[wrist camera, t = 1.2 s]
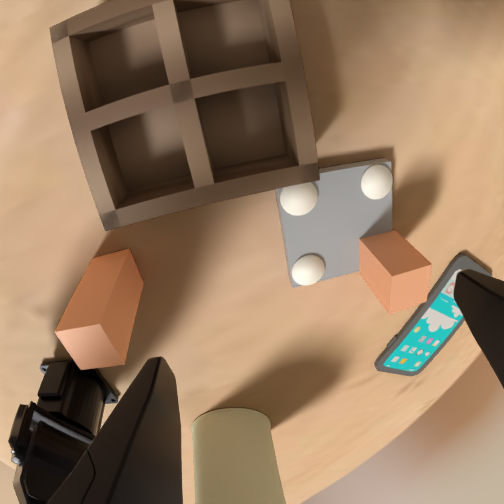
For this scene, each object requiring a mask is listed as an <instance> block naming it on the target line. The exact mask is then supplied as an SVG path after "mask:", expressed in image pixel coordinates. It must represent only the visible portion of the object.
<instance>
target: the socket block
mask: <svg viewBox="0 0 504 504" xmlns="http://www.w3.org/2000/svg"><path fill="white" fill-rule="evenodd" d="M50 35H51V41H52V46H53V52H54V57H55V63H56V68H57V72H58V77H59V82H60V86H61V91H62V95H63V99H64V103H65V107H66V111H67V115H68V119H69V123H70V126H71V130H72V133H73V137H74V140H75V144H76V147H77V150H78V154H79V157H80V160H81V163H82V167H83V170H84V173H85V176H86V179H87V182H88V185H89V188H90V191H91V193H92V196H93V199H94V202H95V205H96V207H97V210H98V213H99V215H100V218H101V221H102V223H103V226H104V229H105V231H108V230H112V229H115V228H119V227H122V226H126V225H130V224H133V223H137V222H141V221H144V220H148V219H152V218H156V217H159V216H163V215H167V214H171V213H175V212H179V211H183V210H187V209H191V208H195V207H199V206H203V205H208V204H212V203H216V202H220V201H224V200H229V199H233V198H238V197H242V196H246V195H251V194H256V193H260V192H265V191H269V190H274V189H279V188H284V187H289V186H294V185H298V184H304V183H309V182H314V181H319V180H320V174H319V166H318V158H317V151H316V143H315V136H314V129H313V123H312V116H311V110H310V104H309V97H308V91H307V86H306V80H305V74H304V69H303V64H302V58H301V53H300V48H299V43H298V38H297V33H296V29H295V24H294V19H293V15H292V10H291V6H290V2H289V0H112V1H109V2H107V3H104V4H102V5H99V6H97V7H94V8H92V9H89V10H87V11H85V12H82V13H80V14H78V15H75V16H73V17H71V18H69V19H67V20H65V21H63V22H61V23H59V24H56V25H54V26H53V27H51V28H50Z"/></svg>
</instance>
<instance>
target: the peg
mask: <svg viewBox="0 0 504 504" xmlns="http://www.w3.org/2000/svg"><path fill="white" fill-rule="evenodd" d="M143 286H144V282H143V280H142V278H141V275H140V273H139V270H138V268H137V266H136V263H135V261H134V258H133V256H132V253H131V251H130V248H129V249H125V250H121V251H118V252H114V253H110V254H106V255H102V256H99V257H95V258H93V259H92V261H91V263H90V265H89V266H88V268H87V270H86V272H85V273H84V275H83V277H82V279H81V281H80V283H79V284H78V286H77V288H76V290H75V292H74V294H73V296H72V298H71V300H70V302H69V304H68V306H67V308H66V309H65V311H64V313H63V316H62V318H61V320H60V322H59V324H58V326H57V328H56V330H55V333H56V335H57V336H58V338H59V339H60V341H61V342H62V344H63V345H64V347H65V348H66V350H67V351H68V353H69V354H70V356H71V357H72V358H73V360H74V361H75V363H76V364H77V365H78V367H79V368H80V369H81V370H85V369H94V368H103V367H111V366H118V365H125V361H126V356H127V352H128V347H129V343H130V338H131V334H132V329H133V325H134V321H135V317H136V313H137V309H138V305H139V301H140V297H141V293H142V289H143Z"/></svg>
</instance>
